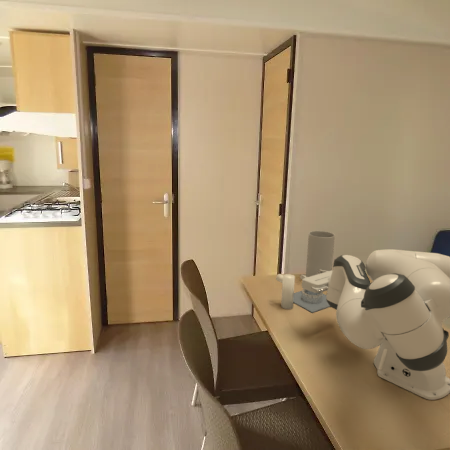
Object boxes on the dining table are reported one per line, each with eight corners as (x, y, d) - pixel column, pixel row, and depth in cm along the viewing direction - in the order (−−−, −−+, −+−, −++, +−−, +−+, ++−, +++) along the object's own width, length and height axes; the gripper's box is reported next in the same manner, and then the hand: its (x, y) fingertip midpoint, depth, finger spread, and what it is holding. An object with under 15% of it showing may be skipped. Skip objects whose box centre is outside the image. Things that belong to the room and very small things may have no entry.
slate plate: (340, 303, 163) (341, 302, 163) (312, 313, 153) (312, 311, 153) (311, 289, 178) (311, 288, 178) (283, 297, 168) (283, 296, 168)
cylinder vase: (335, 284, 183) (340, 236, 177) (313, 287, 179) (317, 238, 173) (321, 275, 195) (325, 230, 189) (300, 278, 191) (304, 231, 185)
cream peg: (295, 307, 158) (297, 277, 155) (286, 310, 155) (288, 279, 152) (281, 300, 165) (283, 270, 162) (273, 302, 162) (274, 273, 159)
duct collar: (326, 300, 164) (326, 293, 163) (311, 305, 159) (312, 297, 159) (311, 293, 171) (311, 286, 171) (297, 297, 167) (297, 290, 166)
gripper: (318, 300, 128) (290, 286, 139) (354, 287, 140) (326, 276, 151) (319, 283, 127) (291, 271, 138) (356, 272, 138) (327, 261, 149)
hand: (310, 273), depth 145 cm, fingers open, 8 cm apart
